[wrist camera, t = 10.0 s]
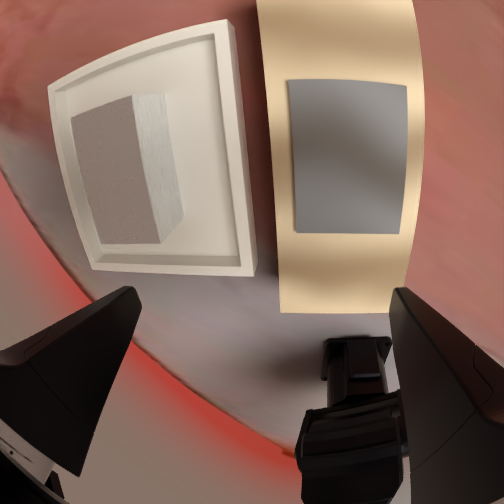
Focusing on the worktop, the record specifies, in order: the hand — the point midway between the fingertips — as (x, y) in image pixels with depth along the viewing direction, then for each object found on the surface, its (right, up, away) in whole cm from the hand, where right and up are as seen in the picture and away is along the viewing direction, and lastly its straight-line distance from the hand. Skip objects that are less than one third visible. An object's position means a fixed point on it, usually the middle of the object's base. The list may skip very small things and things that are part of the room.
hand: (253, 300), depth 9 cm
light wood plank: (+6, +8, +7) cm, 12 cm away
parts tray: (-8, +8, +10) cm, 15 cm away
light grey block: (-8, +8, +9) cm, 14 cm away
